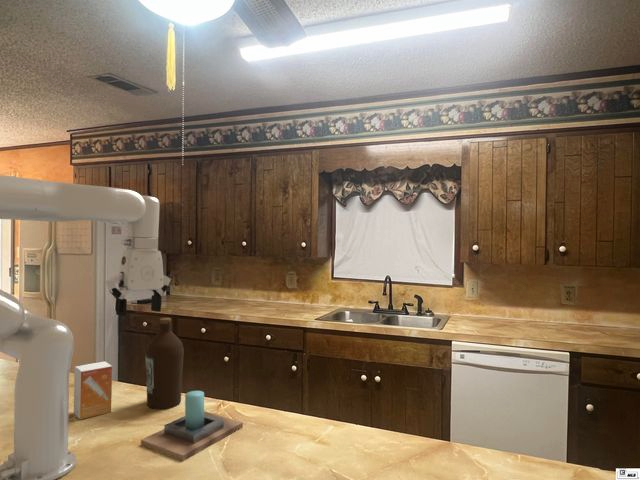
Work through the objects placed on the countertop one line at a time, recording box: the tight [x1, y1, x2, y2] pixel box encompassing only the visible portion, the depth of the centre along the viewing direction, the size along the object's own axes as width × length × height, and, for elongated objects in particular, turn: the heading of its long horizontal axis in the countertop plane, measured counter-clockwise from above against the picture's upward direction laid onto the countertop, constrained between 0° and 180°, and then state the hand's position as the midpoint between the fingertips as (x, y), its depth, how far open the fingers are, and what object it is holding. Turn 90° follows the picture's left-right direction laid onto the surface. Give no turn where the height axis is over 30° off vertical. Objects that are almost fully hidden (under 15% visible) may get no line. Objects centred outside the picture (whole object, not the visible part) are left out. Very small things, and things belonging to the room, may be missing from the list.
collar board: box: [140, 410, 244, 462], centre depth 106 cm, size 20×14×3 cm
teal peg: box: [184, 390, 205, 431], centre depth 106 cm, size 4×4×9 cm
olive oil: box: [144, 317, 185, 410], centre depth 126 cm, size 11×11×25 cm
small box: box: [73, 361, 113, 420], centre depth 119 cm, size 8×6×13 cm
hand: (139, 313), depth 108 cm, fingers open, 9 cm apart
